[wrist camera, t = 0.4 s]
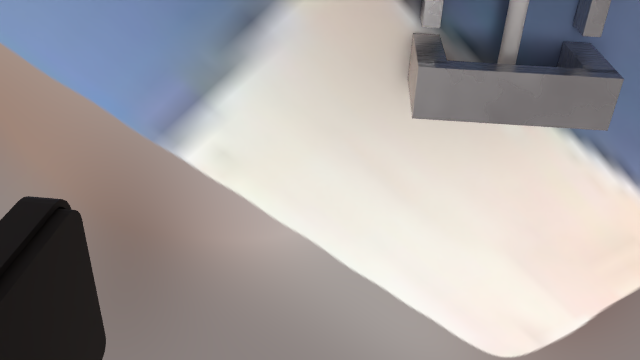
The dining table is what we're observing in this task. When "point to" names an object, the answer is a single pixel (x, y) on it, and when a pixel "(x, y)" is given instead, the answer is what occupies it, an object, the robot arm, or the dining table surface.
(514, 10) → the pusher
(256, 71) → the dining table surface
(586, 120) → the lane
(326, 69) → the dining table surface
